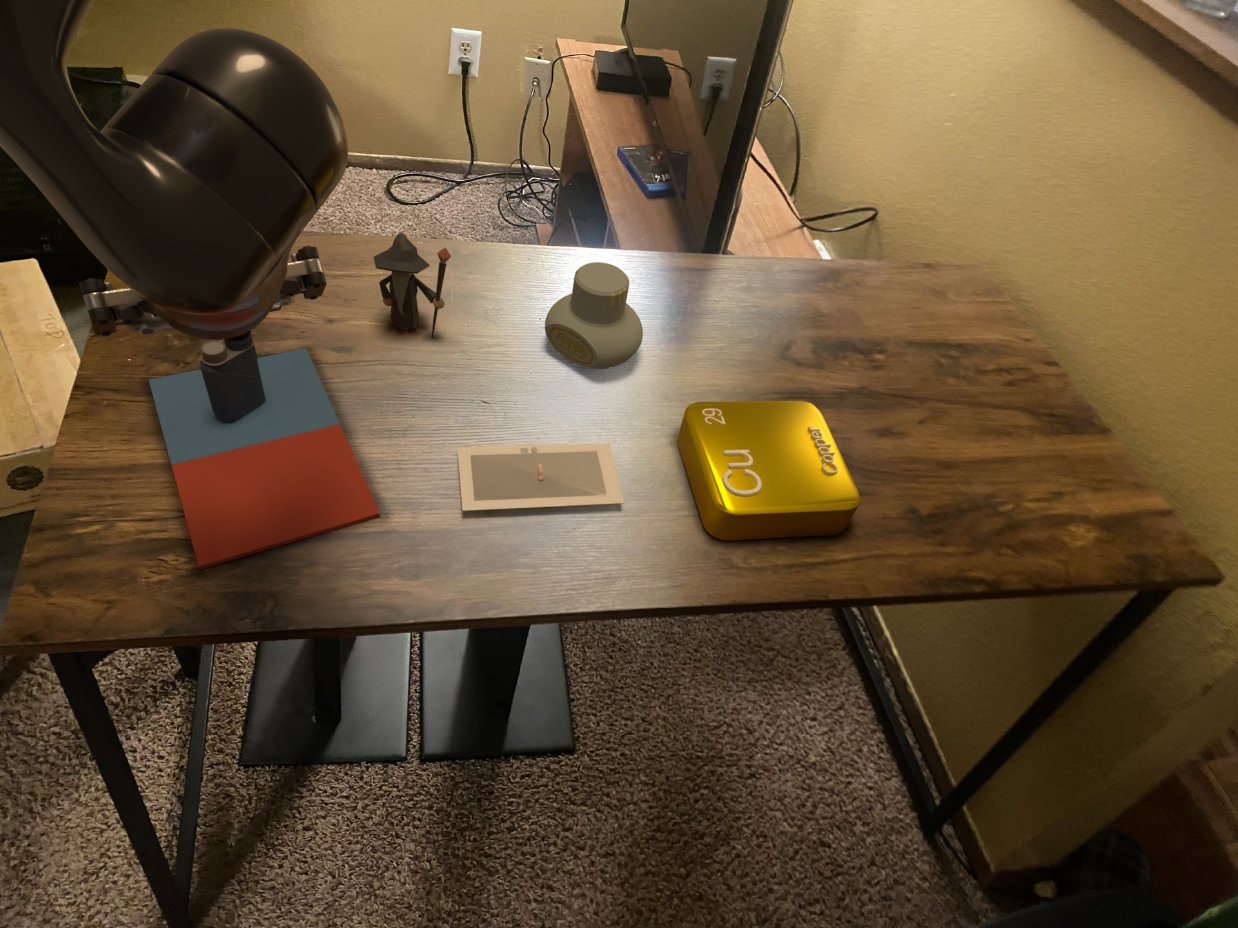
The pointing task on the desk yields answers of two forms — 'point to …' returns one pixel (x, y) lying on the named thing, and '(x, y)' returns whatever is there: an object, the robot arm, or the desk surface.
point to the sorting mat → (260, 462)
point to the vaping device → (232, 376)
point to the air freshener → (595, 319)
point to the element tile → (765, 470)
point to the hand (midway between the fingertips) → (209, 308)
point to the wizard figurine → (408, 283)
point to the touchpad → (537, 476)
